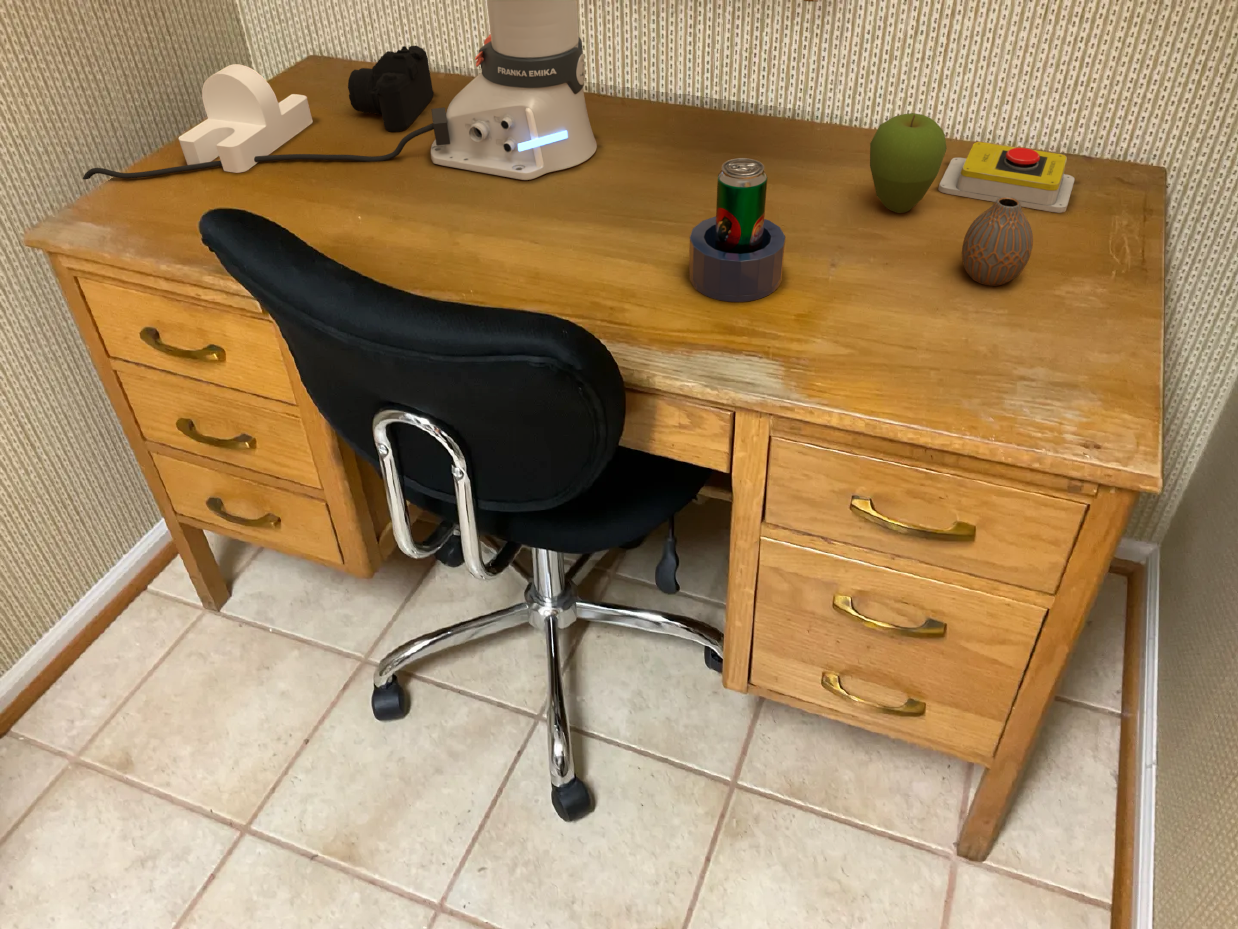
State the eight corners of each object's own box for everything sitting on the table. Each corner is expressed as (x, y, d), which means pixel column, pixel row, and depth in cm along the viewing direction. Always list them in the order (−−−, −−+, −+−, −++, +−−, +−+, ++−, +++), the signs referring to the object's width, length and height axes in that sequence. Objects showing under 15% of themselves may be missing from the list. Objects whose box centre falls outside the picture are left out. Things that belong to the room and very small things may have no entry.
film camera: (381, 90, 150) (369, 30, 144) (441, 93, 148) (431, 32, 142) (342, 131, 139) (327, 68, 133) (405, 135, 137) (393, 70, 131)
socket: (682, 297, 104) (682, 256, 101) (697, 250, 111) (698, 210, 108) (775, 306, 102) (779, 264, 99) (785, 258, 109) (789, 217, 106)
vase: (947, 262, 108) (963, 188, 102) (1008, 257, 108) (1028, 184, 102) (969, 295, 103) (987, 220, 97) (1033, 290, 103) (1055, 215, 97)
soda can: (758, 284, 104) (765, 179, 96) (711, 280, 105) (715, 176, 97) (762, 260, 108) (770, 157, 100) (716, 257, 108) (721, 154, 100)
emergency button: (1075, 179, 112) (943, 157, 117) (1064, 213, 115) (936, 191, 120) (1084, 146, 118) (959, 128, 123) (1074, 180, 121) (952, 160, 126)
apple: (871, 187, 122) (885, 95, 114) (940, 198, 119) (959, 105, 111) (853, 218, 116) (866, 123, 108) (924, 231, 113) (943, 135, 105)
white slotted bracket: (315, 120, 142) (298, 48, 136) (242, 173, 130) (219, 97, 123) (260, 113, 145) (240, 42, 138) (183, 165, 132) (157, 90, 126)
